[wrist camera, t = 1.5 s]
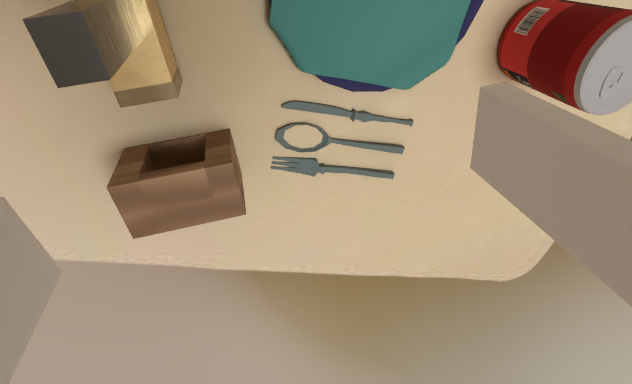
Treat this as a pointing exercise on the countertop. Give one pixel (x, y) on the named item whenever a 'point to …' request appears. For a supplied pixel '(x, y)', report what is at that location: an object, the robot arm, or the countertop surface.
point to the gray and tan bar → (108, 48)
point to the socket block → (178, 183)
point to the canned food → (571, 53)
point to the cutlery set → (365, 56)
